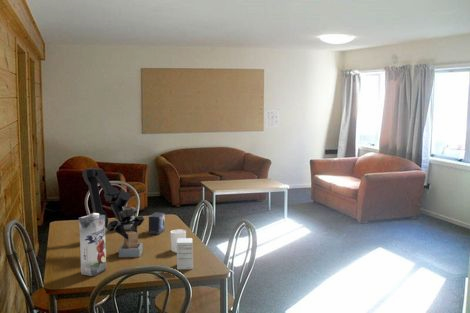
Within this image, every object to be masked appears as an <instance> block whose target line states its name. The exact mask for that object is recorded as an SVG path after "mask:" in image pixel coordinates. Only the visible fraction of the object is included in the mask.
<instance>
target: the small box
mask: <svg viewBox="0 0 470 313" xmlns="http://www.w3.org/2000/svg"><path fill="white" fill-rule="evenodd" d="M165 214H166V213H165V212H157V211H156V212H154V213H152V214H150V215H149V216H148V235H155V236H157V235H160V234H162V233H163V232H165V227H166V226H165V225H166V224H165V223H166V221H165V220H166V218H165V217H166V215H165Z"/></svg>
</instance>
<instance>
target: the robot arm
mask: <svg viewBox="0 0 470 313" xmlns="http://www.w3.org/2000/svg"><path fill="white" fill-rule="evenodd" d="M81 176H82V177H83V181H84V183H85V184H86V185H87V186H88V192H89V195H90V196H89V197H90V201H91V206H92V213H91V214H93V213H99V214H100V215H105V239H106V237H107V232H108V233H110V232H114V233H117V234H118V235H120V236H122V237H123V239H124V238H126V239H128V236H127V234H126V232H127V231H126V230H124V225H129V224H130V225H131V228H130V229H131V230H130V231H135V232H137V233H138V227H139V226H142V223H143V222H144V221H145V218H144V216H143V215H137V216H135V215H136V214H137V213H138V212H137V211H138V210H137V208H136V207H133V208H131V209H130V210H126V209H125V207H124V206H127V204H128V203H129V202H130V199H131V194H130V193H129V192H128V191H126V190H124V189H118V188H117V187H114V185H112V183H111V182H110V180H109V178H108V177H107V176H106V173H105V171H104V169H103V168H96V167H91V168H84V170H83V171H82V173H81ZM98 184H99V185H98ZM99 186H100V187H101V189H102V190H103V192H104V193H103V197H104V199H105V202H107V203H108V204H109V203H112V204H111V205H110V206H109V207H110V209H109V210H110V211H113V213H114V215H115V217H114V219H115V220H111V221H109V217H108V213H107V211H105V210H103V207H102V201H101V196H100V191H99ZM133 215H134V217H135V218H134V220H130V219H131V218H132V216H133ZM106 230H107V231H106Z"/></svg>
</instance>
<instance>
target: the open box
mask: <svg viewBox="0 0 470 313" xmlns="http://www.w3.org/2000/svg"><path fill="white" fill-rule="evenodd" d="M143 244H144V243H143V242H138V248H128V249H124V242H122V244H121V245H120V247H119V248H118V258H140V257H141V255H142V253H143V251H144V248H143V246H144V245H143Z"/></svg>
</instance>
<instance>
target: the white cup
mask: <svg viewBox="0 0 470 313" xmlns="http://www.w3.org/2000/svg"><path fill="white" fill-rule="evenodd" d="M177 238H187V230H185V229H182V228H181V229H179V228H178V229H173V230H170V246H171V252H173V253H177Z"/></svg>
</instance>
